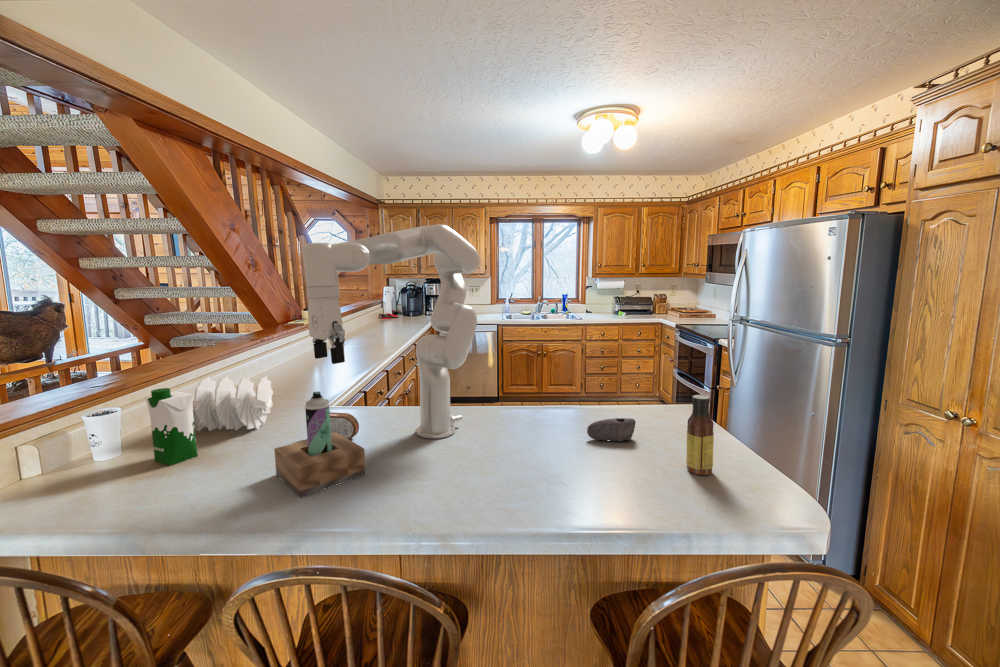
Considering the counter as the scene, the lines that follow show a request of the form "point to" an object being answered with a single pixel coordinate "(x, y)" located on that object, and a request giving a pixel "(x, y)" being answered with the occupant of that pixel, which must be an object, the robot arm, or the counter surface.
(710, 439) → the sauce bottle
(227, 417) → the spiral staircase
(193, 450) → the milk carton
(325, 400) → the spray can
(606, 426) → the perforated stone tool
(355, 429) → the tin
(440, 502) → the counter surface
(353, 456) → the socket block
